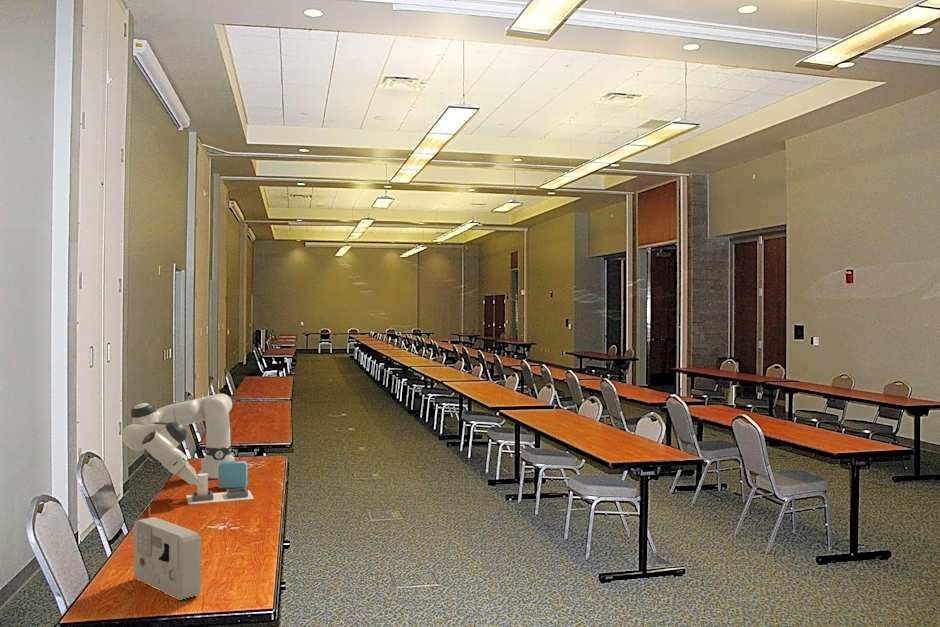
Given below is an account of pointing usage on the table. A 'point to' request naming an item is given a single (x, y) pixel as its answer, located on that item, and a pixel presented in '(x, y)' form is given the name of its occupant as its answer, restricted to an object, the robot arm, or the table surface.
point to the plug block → (204, 480)
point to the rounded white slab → (167, 557)
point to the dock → (220, 496)
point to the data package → (232, 474)
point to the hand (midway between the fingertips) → (201, 484)
